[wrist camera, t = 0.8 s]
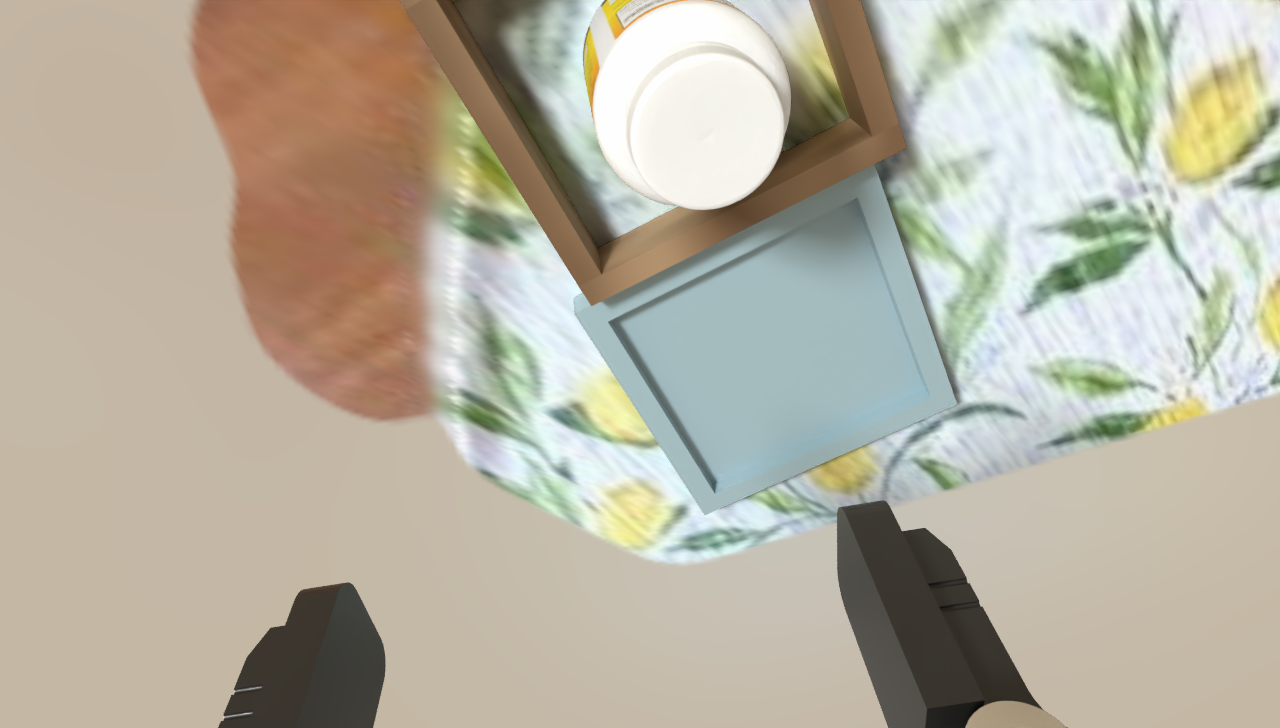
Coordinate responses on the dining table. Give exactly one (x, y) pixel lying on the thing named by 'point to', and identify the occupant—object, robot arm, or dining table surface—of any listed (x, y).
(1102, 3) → the dining table surface
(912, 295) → the tray
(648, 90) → the supplement bottle
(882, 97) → the frame
